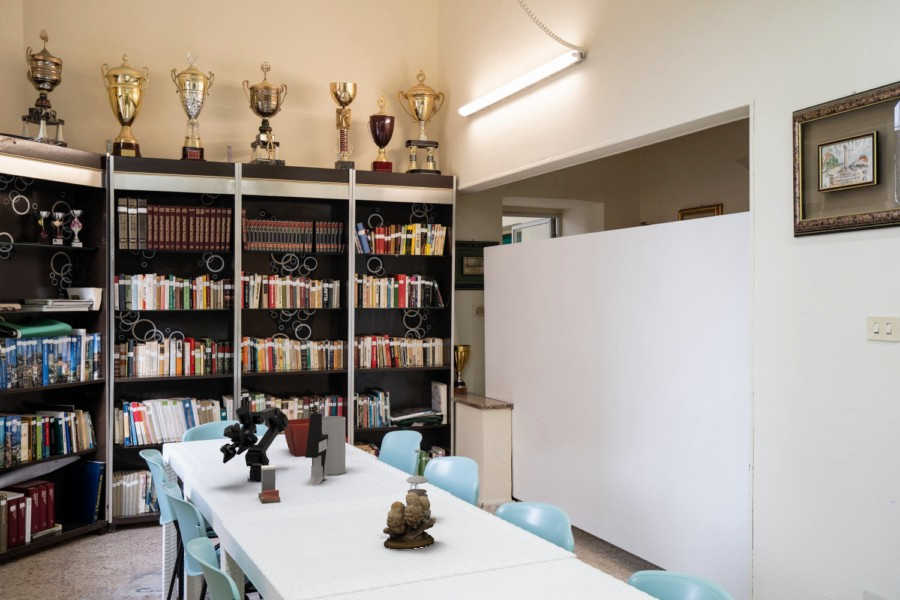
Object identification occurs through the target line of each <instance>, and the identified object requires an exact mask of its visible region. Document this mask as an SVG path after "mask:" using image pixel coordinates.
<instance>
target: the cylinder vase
mask: <svg viewBox="0 0 900 600" xmlns="http://www.w3.org/2000/svg"><path fill="white" fill-rule="evenodd" d="M322 434H328V443H327V451H326V459H325V465H326V466H325V475H324V476H338V475H342V474H343V475H344V474H345V473H346V417H345V416H339V415H327V416H322Z"/></svg>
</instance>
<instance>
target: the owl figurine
mask: <svg viewBox="0 0 900 600" xmlns="http://www.w3.org/2000/svg"><path fill="white" fill-rule="evenodd" d="M405 503H406V504H407V505H405V504H404V503H403V502H401V501H398V500H397V501H394V502H393V503H392V504H391V505H390V510H389V511H388V512H387V518H386V526H387V527H384V528H383V529H382V533H384V534H385V535H389V537H387V538H386V539H385V540H384V542H383V546H385V547H384V548H386V547H387V548H386V549H388V548H390V549H389V550H391V549H398V550H397V551H400V550H399V549H412V550H415V549H414V548H419V549H421V548H420V547H424V548H426V547H425V546H428V547H430V546H432V545H434V543H435V538H434V537H433V536H432V535H431V534H429V533H428V532H427V531H426V530H428V529H429V530H430V529H432V528H433V527H434V525H435V524H436V522H437V520H436V518H435V517H431V514H432V510H431V509H430V508H431V502H430V500H429V497H428V498H427V497H424V496H421V497H419V496H418V495H417V494H416V493H412V492H410V493H408V492H407V494H406V495H405ZM431 544H432V545H431ZM429 545H430V546H429Z"/></svg>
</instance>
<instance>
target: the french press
mask: <svg viewBox="0 0 900 600" xmlns="http://www.w3.org/2000/svg"><path fill="white" fill-rule="evenodd" d="M414 453H415V454H416V465H418V464H419V463H418V456H419V455H418V454H419V453H421V451H420V449H418V448H415V450H414ZM405 481H406V483H409V484H410V487H412V486H414V488H410V489H408V490H407V494H408V493H410V492H412V493H416V494H417V495H418V496H419V497H421V496H424V497H427V498H428V499H429V497H428V494H427V492H428V490H427V489H424V488H417V486H418V485H421V484H426V483H428V482H429V479H428V478H427V477H425V476H423V475H419V474H416V475H412V476H409V477H407V478H406V479H405ZM405 506H407V503H406V505H405Z"/></svg>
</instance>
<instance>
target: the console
mask: <svg viewBox="0 0 900 600" xmlns="http://www.w3.org/2000/svg"><path fill="white" fill-rule="evenodd" d="M258 498H259V501H260V503H261V504H271V503H273V504H274V503H281V496H280V490H279V489H275V490H269V491H263V495H262V493H261V492H258Z"/></svg>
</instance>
